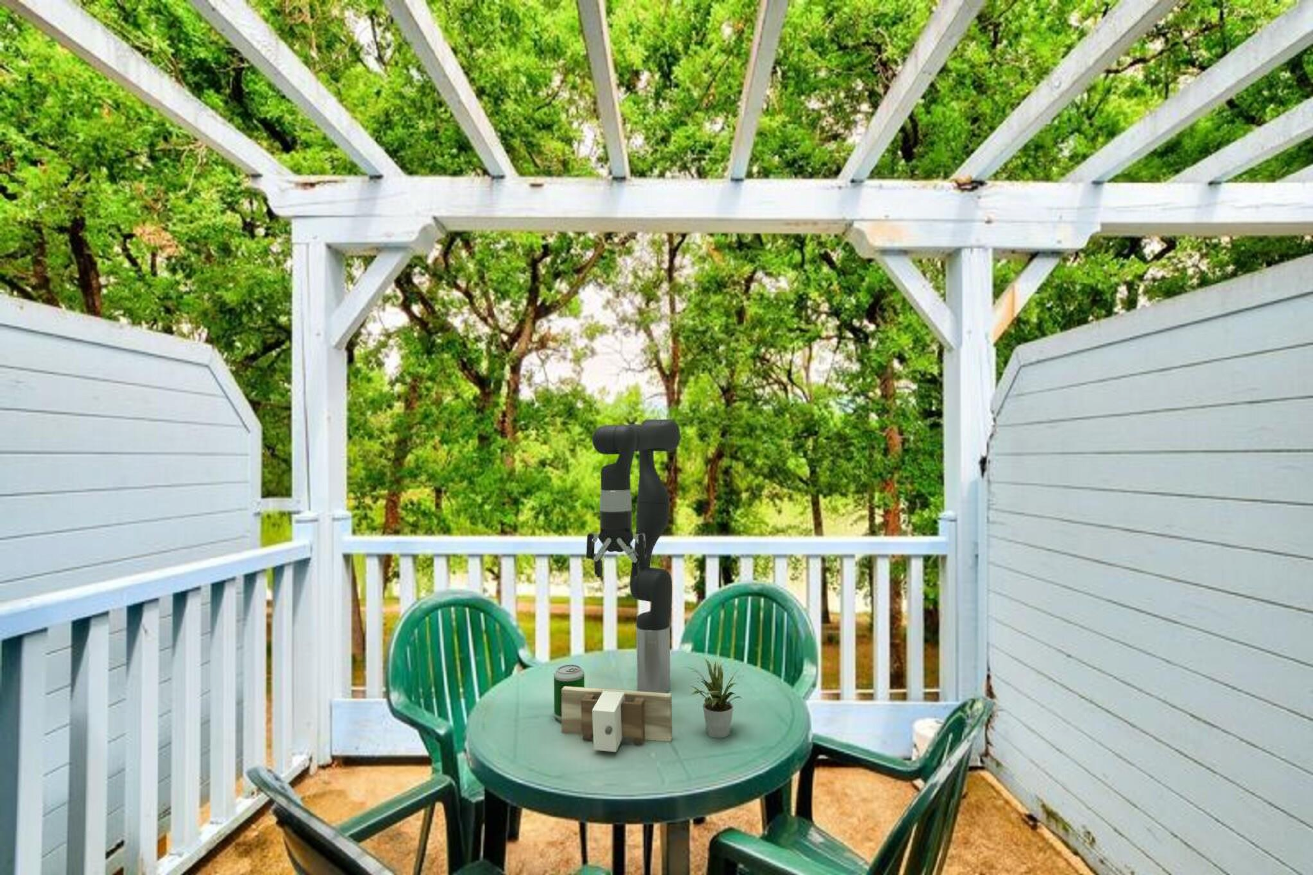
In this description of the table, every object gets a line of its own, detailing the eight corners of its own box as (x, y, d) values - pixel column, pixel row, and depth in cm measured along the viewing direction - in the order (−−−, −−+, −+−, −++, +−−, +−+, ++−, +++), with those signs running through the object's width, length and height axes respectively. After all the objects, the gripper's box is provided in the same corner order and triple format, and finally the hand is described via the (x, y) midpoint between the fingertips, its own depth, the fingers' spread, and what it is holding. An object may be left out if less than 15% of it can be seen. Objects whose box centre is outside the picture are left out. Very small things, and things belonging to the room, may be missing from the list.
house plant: (674, 723, 144) (673, 655, 144) (724, 713, 149) (723, 647, 150) (701, 750, 131) (700, 675, 131) (755, 737, 136) (754, 665, 136)
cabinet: (605, 728, 138) (603, 690, 137) (625, 729, 137) (624, 692, 136) (592, 752, 129) (590, 712, 128) (614, 754, 128) (613, 714, 127)
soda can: (579, 725, 144) (578, 675, 144) (549, 722, 145) (549, 673, 146) (588, 711, 151) (588, 664, 151) (560, 709, 153) (560, 662, 153)
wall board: (564, 728, 142) (564, 686, 142) (672, 737, 137) (671, 693, 137) (556, 739, 137) (556, 695, 137) (667, 749, 132) (667, 703, 132)
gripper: (648, 507, 144) (649, 574, 144) (592, 507, 147) (592, 573, 146) (641, 510, 137) (642, 581, 136) (582, 510, 139) (583, 579, 139)
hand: (616, 577), depth 141 cm, fingers open, 8 cm apart
